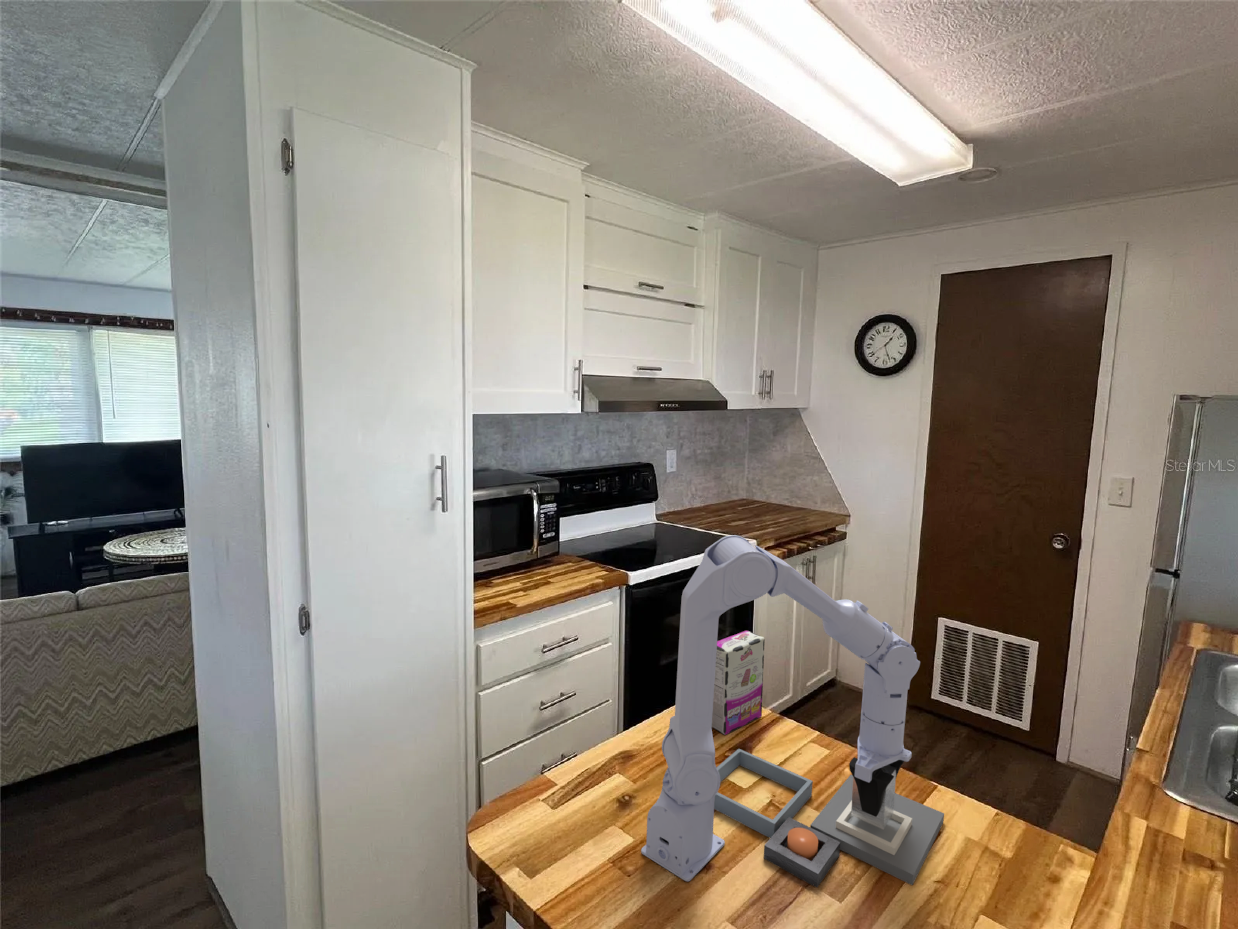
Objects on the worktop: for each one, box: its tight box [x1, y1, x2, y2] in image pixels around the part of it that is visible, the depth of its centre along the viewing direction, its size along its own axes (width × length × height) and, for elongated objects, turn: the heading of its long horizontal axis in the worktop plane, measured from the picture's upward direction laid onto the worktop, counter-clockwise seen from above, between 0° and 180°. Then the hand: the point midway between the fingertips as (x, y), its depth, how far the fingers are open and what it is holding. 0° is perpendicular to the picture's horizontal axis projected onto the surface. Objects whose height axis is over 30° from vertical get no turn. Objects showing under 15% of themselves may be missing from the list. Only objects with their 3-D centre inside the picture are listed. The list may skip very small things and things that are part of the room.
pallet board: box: [809, 774, 945, 886], centre depth 92 cm, size 16×14×2 cm
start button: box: [787, 828, 818, 861], centre depth 86 cm, size 4×4×2 cm
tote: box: [714, 748, 813, 839], centre depth 98 cm, size 13×13×2 cm
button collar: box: [763, 817, 841, 888], centre depth 86 cm, size 8×8×2 cm
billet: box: [851, 765, 897, 830], centre depth 90 cm, size 4×4×7 cm
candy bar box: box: [712, 630, 766, 736], centre depth 120 cm, size 11×5×16 cm, turn 129°
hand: (875, 803), depth 90 cm, fingers closed on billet, 4 cm apart
